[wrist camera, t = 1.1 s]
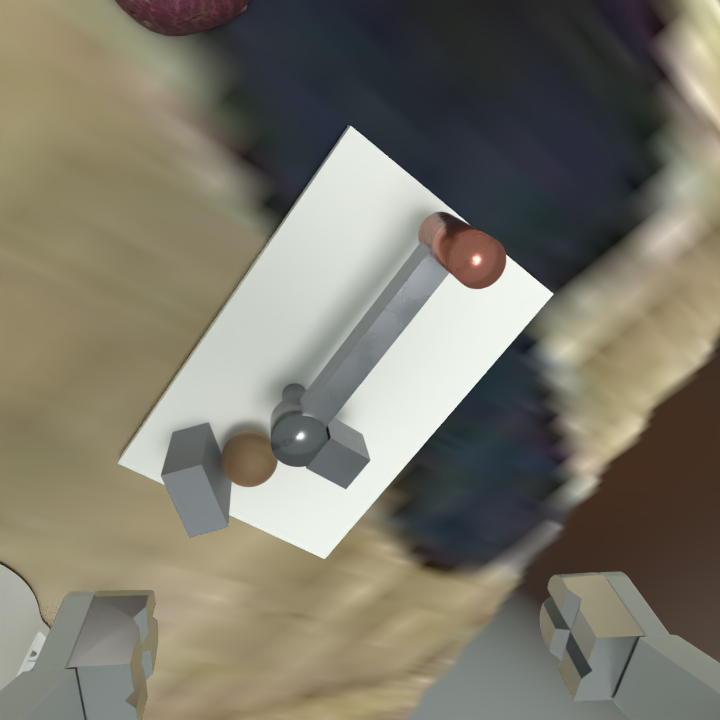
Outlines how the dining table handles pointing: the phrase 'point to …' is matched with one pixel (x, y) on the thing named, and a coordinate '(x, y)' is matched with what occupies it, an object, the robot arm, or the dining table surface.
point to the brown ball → (248, 459)
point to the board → (326, 354)
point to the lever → (378, 348)
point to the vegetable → (182, 14)
